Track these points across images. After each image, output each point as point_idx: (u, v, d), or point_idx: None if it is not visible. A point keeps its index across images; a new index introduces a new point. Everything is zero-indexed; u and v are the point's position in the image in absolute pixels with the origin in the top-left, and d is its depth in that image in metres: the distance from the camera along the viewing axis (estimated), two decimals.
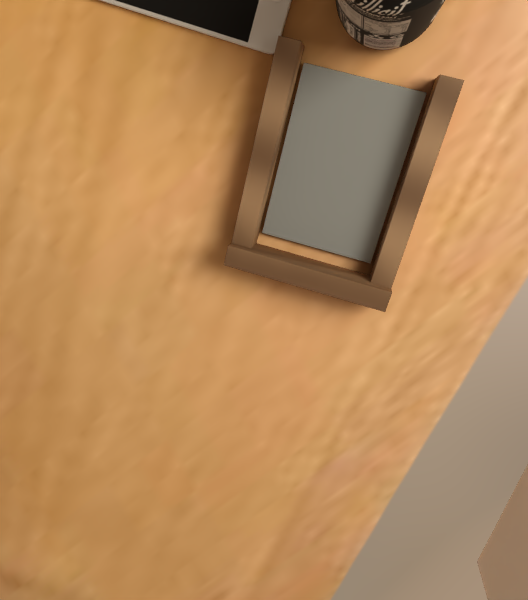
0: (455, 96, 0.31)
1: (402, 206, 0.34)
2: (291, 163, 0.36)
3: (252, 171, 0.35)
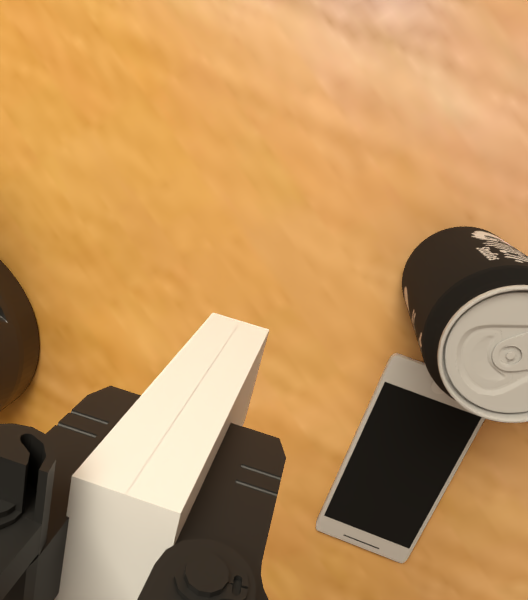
0: None
1: None
2: None
3: None
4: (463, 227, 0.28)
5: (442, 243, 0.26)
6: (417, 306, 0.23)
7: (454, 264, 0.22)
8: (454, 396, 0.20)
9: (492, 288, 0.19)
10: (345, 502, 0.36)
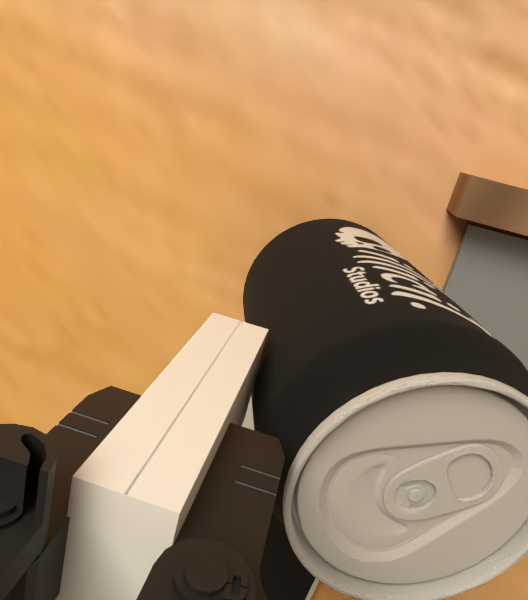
0: (497, 187, 0.17)
1: None
2: None
3: None
4: (323, 221, 0.19)
5: (292, 253, 0.16)
6: None
7: (308, 306, 0.12)
8: (321, 578, 0.10)
9: (377, 381, 0.09)
10: None
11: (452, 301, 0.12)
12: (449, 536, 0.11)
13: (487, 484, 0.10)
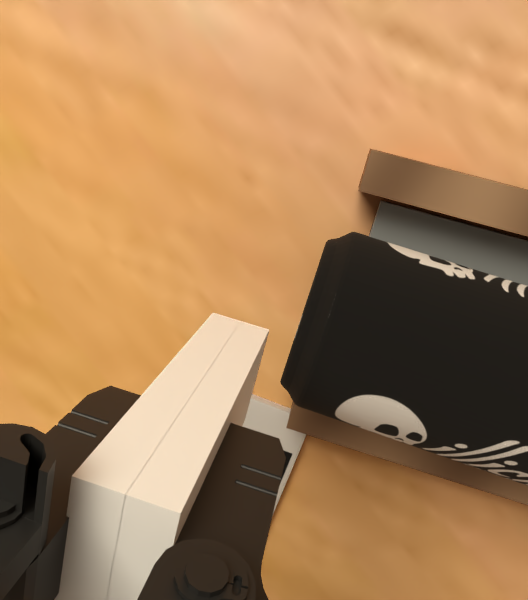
0: (397, 161, 0.18)
1: None
2: None
3: (486, 484, 0.21)
4: (364, 246, 0.16)
5: (438, 307, 0.15)
6: None
7: None
8: None
9: None
10: None
11: None
12: None
13: None
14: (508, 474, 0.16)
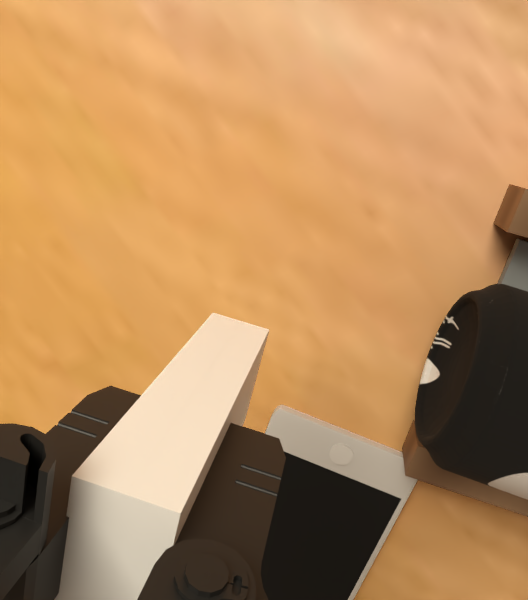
0: None
1: None
2: None
3: None
4: None
5: None
6: None
7: None
8: None
9: None
10: None
11: None
12: None
13: None
14: None
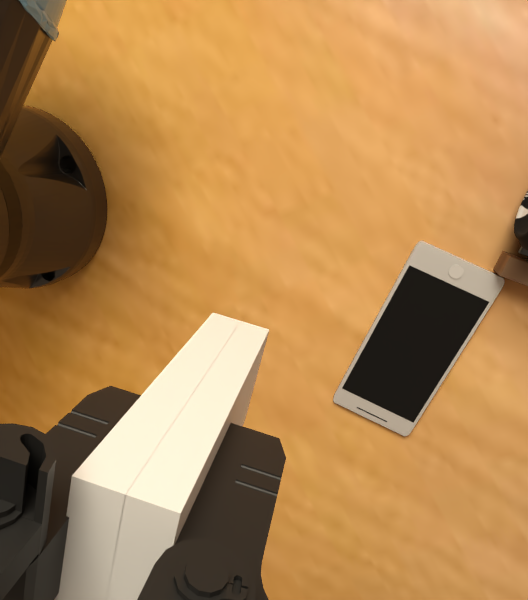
0: None
1: None
2: None
3: None
4: None
5: None
6: None
7: None
8: None
9: None
10: (362, 377, 0.41)
11: None
12: None
13: None
14: None
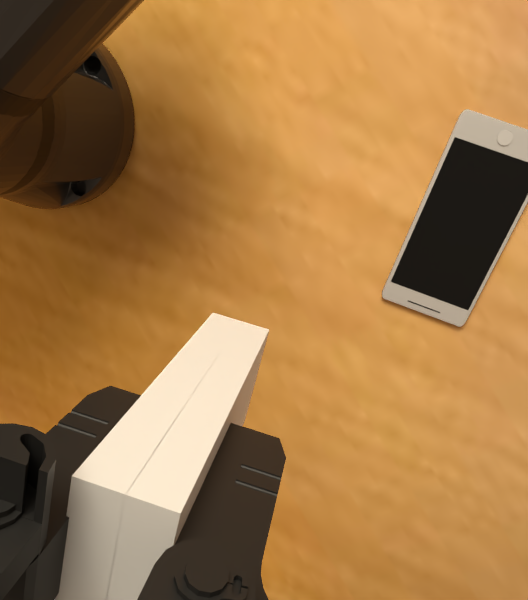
0: None
1: None
2: None
3: None
4: None
5: None
6: None
7: None
8: None
9: None
10: (411, 266, 0.40)
11: None
12: None
13: None
14: None
